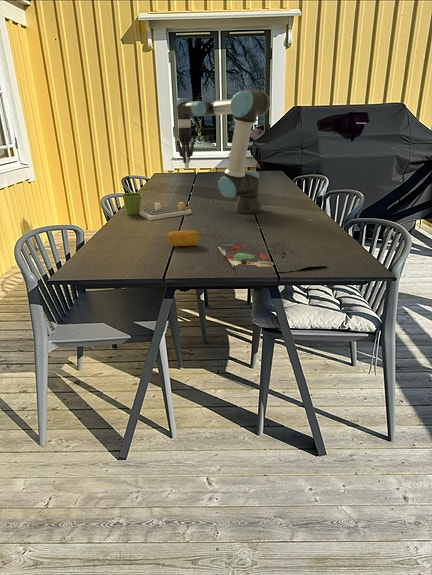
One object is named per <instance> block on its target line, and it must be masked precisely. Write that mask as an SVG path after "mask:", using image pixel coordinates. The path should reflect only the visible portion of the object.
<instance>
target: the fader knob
mask: <svg viewBox="0 0 432 575" xmlns="http://www.w3.org/2000/svg"><path fill="white" fill-rule="evenodd" d="M177 205H178V208H179V210H180V209H185V206H186V205H185V202H182V201H179V202H178V203H177Z"/></svg>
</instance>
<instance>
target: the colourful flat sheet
mask: <svg viewBox="0 0 432 575" xmlns="http://www.w3.org/2000/svg"><path fill="white" fill-rule="evenodd" d="M242 245H243V244H237V243H227V244H226V243H225V244H217V247H218V249H219V251H220V253H221V254H222V255H223V256H224V257H225V258H226V259H227V260H228V261H229V263H230V265H231V266H232V267H233V266H234V265H235V266H236V265H238V264H246V265H256V266H258V267H272V266H273V265H274V263H273V262H268V261H259V260H257V261H258V262H249V261H244V260H247V259H252V258H255V257H254V256H255V255H254V254H253V253H251V254H248V253H247V254H245V253H236V254H235V255H231V254H227V252H229V251H233V250H239V249H241V248H242V247H241V246H242ZM261 253H262V252H261ZM252 254H253V256H252ZM264 255H265V254H263V253H262V254H260V258H262V259H267V258H268V257H266V255H267V254H266V255H265V256H264Z"/></svg>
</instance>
